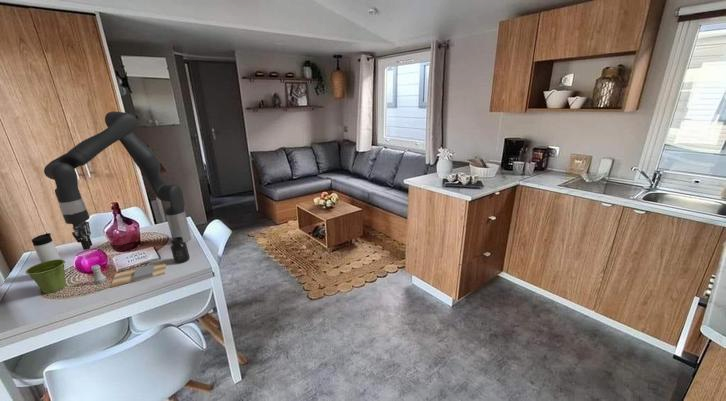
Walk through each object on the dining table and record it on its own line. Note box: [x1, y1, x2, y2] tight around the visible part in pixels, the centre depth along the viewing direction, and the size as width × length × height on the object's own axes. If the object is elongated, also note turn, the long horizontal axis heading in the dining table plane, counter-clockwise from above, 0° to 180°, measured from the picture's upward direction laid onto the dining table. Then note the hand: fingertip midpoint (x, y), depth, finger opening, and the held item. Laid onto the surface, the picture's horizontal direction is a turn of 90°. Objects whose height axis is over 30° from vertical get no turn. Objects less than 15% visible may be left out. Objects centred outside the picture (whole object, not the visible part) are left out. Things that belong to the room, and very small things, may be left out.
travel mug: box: [31, 232, 66, 273], centre depth 138 cm, size 6×7×20 cm
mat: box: [110, 261, 167, 289], centre depth 138 cm, size 12×20×1 cm, turn 120°
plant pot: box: [25, 258, 67, 294], centre depth 128 cm, size 12×12×11 cm
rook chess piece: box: [90, 264, 108, 285], centre depth 132 cm, size 4×4×8 cm
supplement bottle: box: [170, 237, 191, 264], centre depth 148 cm, size 7×7×12 cm
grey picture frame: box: [133, 263, 154, 281], centre depth 137 cm, size 2×7×9 cm
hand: (88, 247), depth 128 cm, fingers open, 2 cm apart
